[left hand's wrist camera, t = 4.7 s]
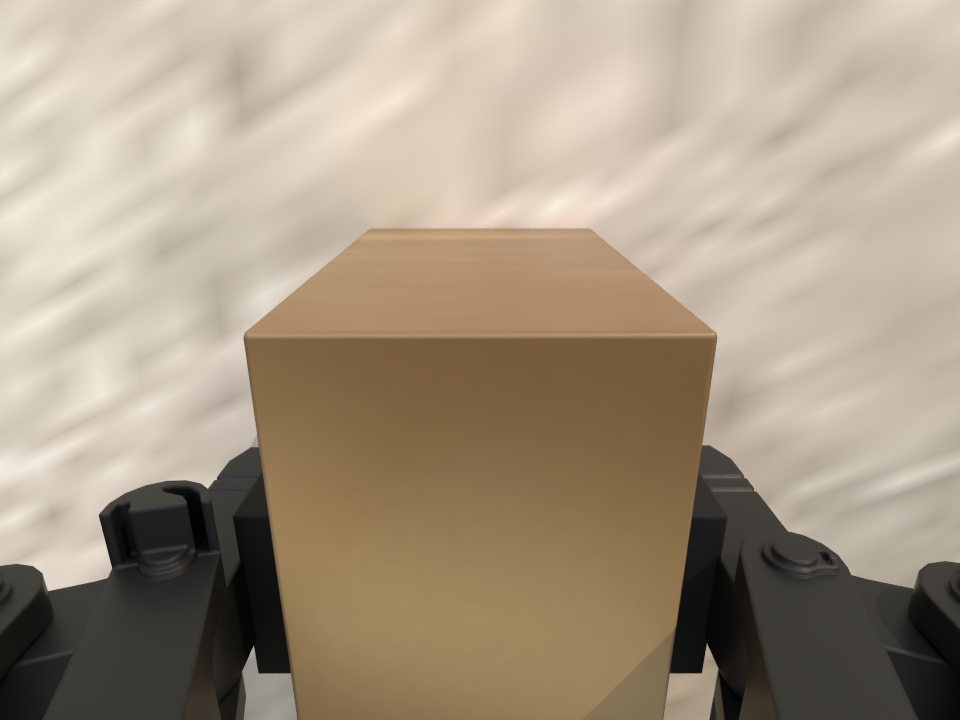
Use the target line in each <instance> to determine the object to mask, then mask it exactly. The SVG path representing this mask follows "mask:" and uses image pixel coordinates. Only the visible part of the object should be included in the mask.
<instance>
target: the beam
mask: <svg viewBox="0 0 960 720" xmlns="http://www.w3.org/2000/svg"><path fill="white" fill-rule="evenodd" d="M716 343H717V335H716V332H715V331H713V330H712V329H711V328H710V327H708V326H707V325H706V324H705V323H704V322H702V321H701V320H700V319H699V318H698V317H696V316H695V315H694V314H693V313H692V312H690V311H689V310H688V309H687V308H685V307H684V306H683V305H682V304H681V303H679V302H678V301H677V300H676V299H675V298H673V297H672V296H671V295H670V294H668V293H667V292H666V291H665V290H664V289H662V288H661V287H660V286H659V285H658V284H656V283H655V282H654V281H653V280H652V279H650V278H649V277H648V276H647V275H645V274H644V273H643V272H642V271H641V270H639V269H638V268H637V267H636V266H635V265H633V264H632V263H631V262H630V261H628V260H627V259H626V258H625V257H624V256H622V255H621V254H620V253H619V252H618V251H616V250H615V249H614V248H613V247H612V246H610V245H609V244H608V243H607V242H605V241H604V240H603V239H602V238H601V237H599V236H598V235H597V234H596V233H595V232H593V231H592V230H591V229H370V230H368V231H367V232H366V233H365V234H363V235H362V236H361V237H360V238H359V239H357V240H356V241H355V242H354V243H353V244H351V245H350V246H349V247H348V248H346V249H345V250H344V251H343V252H342V253H340V254H339V255H338V256H337V257H336V258H334V259H333V260H332V261H331V262H330V263H328V264H327V265H326V266H325V267H324V268H322V269H321V270H320V271H319V272H318V273H316V274H315V275H314V276H313V277H312V278H310V279H309V280H308V281H307V282H305V283H304V284H303V285H302V286H301V287H299V288H298V289H297V290H296V291H295V292H293V293H292V294H291V295H290V296H289V297H287V298H286V299H285V300H284V301H283V302H281V303H280V304H279V305H278V306H277V307H275V308H274V309H273V310H272V311H270V312H269V313H268V314H267V315H266V316H264V317H263V318H262V319H261V320H260V321H258V322H257V323H256V324H255V325H254V326H252V327H251V328H250V329H249V330H248V331H246V332H245V334H244V344H245V351H246V358H247V365H248V373H249V380H250V387H251V394H252V401H253V408H254V415H255V422H256V429H257V436H258V443H259V450H260V457H261V464H262V471H263V478H264V485H265V492H266V500H267V507H268V514H269V521H270V528H271V535H272V542H273V549H274V556H275V563H276V570H277V577H278V584H279V591H280V598H281V605H282V612H283V620H284V627H285V634H286V641H287V648H288V655H289V662H290V669H291V676H292V683H293V690H294V697H295V704H296V711H297V718H298V720H663V716H664V709H665V702H666V695H667V688H668V681H669V674H670V667H671V660H672V653H673V646H674V639H675V632H676V625H677V618H678V611H679V603H680V596H681V589H682V582H683V575H684V568H685V561H686V554H687V547H688V540H689V533H690V526H691V519H692V512H693V505H694V498H695V491H696V484H697V477H698V470H699V463H700V456H701V449H702V442H703V434H704V427H705V420H706V413H707V406H708V399H709V392H710V385H711V378H712V371H713V364H714V357H715V350H716Z"/></svg>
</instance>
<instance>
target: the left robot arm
mask: <svg viewBox="0 0 960 720" xmlns="http://www.w3.org/2000/svg"><path fill="white" fill-rule="evenodd" d="M99 518H100V522H101V526H102V530H103V534H104V538H105V542H106V545H107V549H108V553H109V557H110V561H111V565H112V570H111V573H110V575H109V577H108V578H107V579H103V580H99V581H96V582H91V583H86V584H81V585H76V586H71V587H67V588H62V589H57V590H52V591H47V587H46V584H45V581H44V577H43V574H42V573H41V572H40V571H38V570H37V569H36V568H35V567H33V566H27V565H20V564H12V565H4V566H0V720H243V718H244V710H245V701H246V693H245V686H244V680H243V675H242V670H243V668H244V666H245V664H246V661H247V659H248V657H249V655H250V652H251V650H252V648H253V646H254V648H255V654H256V660H257V666H258V672H259V673H291V669H290V662H289V655H288V648H287V641H286V634H285V627H284V620H283V612H282V605H281V598H280V591H279V584H278V577H277V570H276V563H275V556H274V549H273V542H272V535H271V528H270V521H269V514H268V507H267V500H266V492H265V485H264V478H263V471H262V464H261V457H260V450H259V447H251V448H249V449H248V450H246V451H245V452H243V453H242V454H240V455H238V456H237V457H235V458H234V459H232V460H231V461H229V462H228V464H227V465H226V466H225V468H224V469H223V470H222V472H221V473H220V474H219V475H218V477H217V480H215V481H214V482H213V483H212V484H211V486H210V487H209V488H208V489H207V488H206V487H205V486H203V485H202V484H200V483H196V482H191V481H186V480H183V481H165V482H160V483H155V484H150V485H146V486H143V487H141V488H138V489H135V490H133V491H130V492H128V493H125V494H124V495H122V496H120V497H119V498H117V499H116V500H114V501H112V502H111V503H109V504H108V505H107V506H106V507H105V509H104V510H103V511H102V512H101V513H100V514H99ZM707 644H708V646H709V648H710V651H711V653H712V655H713V657H714V660H715V662H716V664H717V666H718V668H719V669H718V675H717V680H716V686H715V691H714V697H713V703H712V708H711V714H710V719H709V720H960V563H955V562H946V561H944V562H936V563H929V564H927V565H926V566H925V567H923V568H922V569H921V570H919V573H918V576H917V579H916V583H915V586H914V589H912V588H907V587H902V586H897V585H892V584H887V583H882V582H878V581H873V580H868V579H864V578H860V577H856V576H852V575H851V574H850V571H849V569H848V567H847V566H846V565H845V564H844V562H843V561H842V560H841V558H840V557H839V556H838V555H837V554H836V553H834V552H833V551H832V550H830V549H829V548H827V547H826V546H825V545H823V544H822V543H819V542H817V541H815V540H813V539H810V538H808V537H806V536H804V535H800V534H796V533H792V532H788V531H787V530H786V529H785V527H784V526H783V525H782V524H781V522H780V521H779V520H778V518H777V517H776V516H775V515H774V513H773V512H772V511H771V510H770V508H769V507H768V506H767V504H766V503H765V502H764V501H763V499H762V498H761V497H760V495H759V494H758V493H757V492H754V488H753V486H752V485H751V484H750V483H749V481H748V480H747V479H746V478H744V475H743V474H742V472H741V471H740V470H739V469H738V467H737V466H736V465H735V463H734V462H733V461H732V460H731V459H730V458H729V457H727V456H725V455H724V454H722V453H721V452H719V451H717V450H716V449H714V448H713V447H711V446H702V449H701V456H700V463H699V470H698V477H697V484H696V491H695V498H694V505H693V512H692V519H691V526H690V533H689V540H688V547H687V554H686V561H685V568H684V575H683V582H682V589H681V596H680V603H679V611H678V618H677V625H676V632H675V639H674V646H673V653H672V660H671V667H670V673H702V669H703V663H704V657H705V651H706V645H707Z"/></svg>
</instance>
